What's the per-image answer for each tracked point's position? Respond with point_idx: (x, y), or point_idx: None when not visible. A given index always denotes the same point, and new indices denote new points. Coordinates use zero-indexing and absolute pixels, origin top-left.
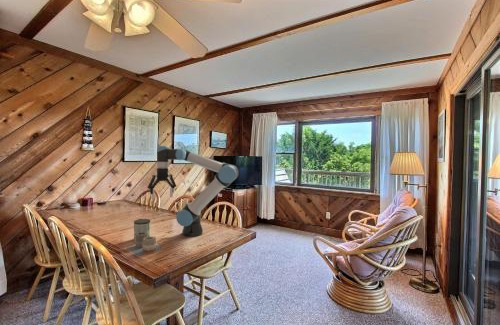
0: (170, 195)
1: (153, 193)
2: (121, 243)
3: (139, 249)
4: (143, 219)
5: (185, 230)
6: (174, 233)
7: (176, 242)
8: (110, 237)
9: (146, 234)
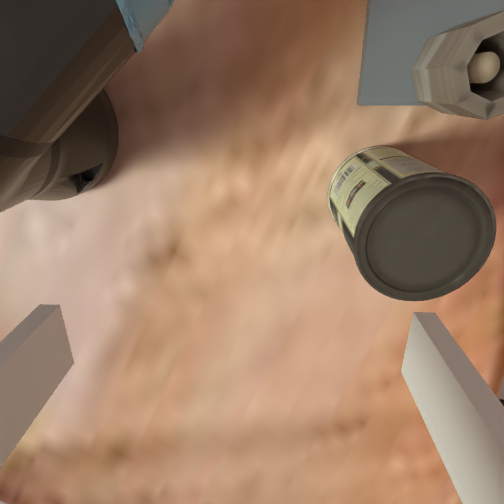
0: (56, 358)
1: (484, 394)
2: None
3: (500, 5)
4: (387, 282)
5: (91, 113)
6: (151, 206)
7: (217, 13)
8: None
9: (479, 22)
